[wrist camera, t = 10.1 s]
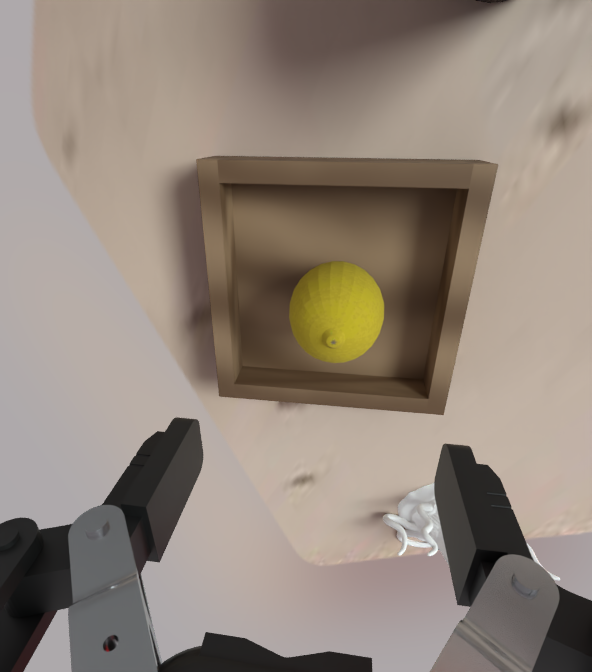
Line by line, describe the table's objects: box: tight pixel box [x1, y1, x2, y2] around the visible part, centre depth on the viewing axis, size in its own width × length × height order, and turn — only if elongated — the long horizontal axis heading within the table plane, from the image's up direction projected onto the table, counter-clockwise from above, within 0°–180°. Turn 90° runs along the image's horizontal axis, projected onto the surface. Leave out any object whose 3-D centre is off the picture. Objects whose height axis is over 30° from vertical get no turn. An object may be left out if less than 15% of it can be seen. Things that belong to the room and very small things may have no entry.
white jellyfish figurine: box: [383, 483, 560, 580], centre depth 33 cm, size 9×12×9 cm
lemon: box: [289, 261, 384, 363], centre depth 24 cm, size 6×6×8 cm
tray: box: [196, 156, 498, 415], centre depth 27 cm, size 16×16×4 cm
